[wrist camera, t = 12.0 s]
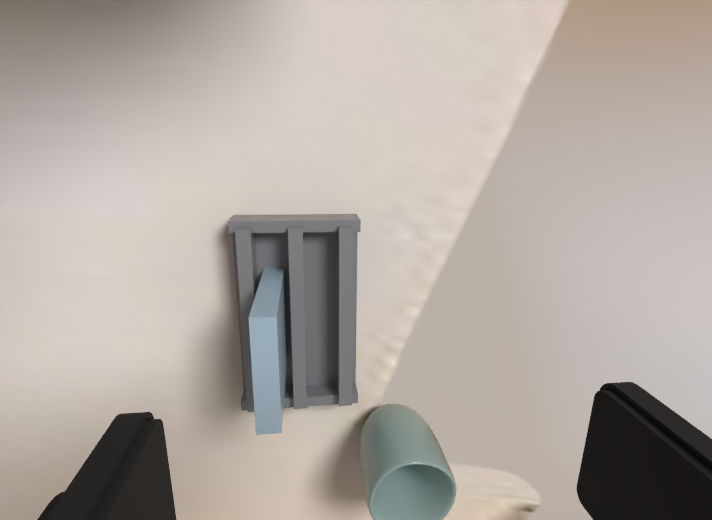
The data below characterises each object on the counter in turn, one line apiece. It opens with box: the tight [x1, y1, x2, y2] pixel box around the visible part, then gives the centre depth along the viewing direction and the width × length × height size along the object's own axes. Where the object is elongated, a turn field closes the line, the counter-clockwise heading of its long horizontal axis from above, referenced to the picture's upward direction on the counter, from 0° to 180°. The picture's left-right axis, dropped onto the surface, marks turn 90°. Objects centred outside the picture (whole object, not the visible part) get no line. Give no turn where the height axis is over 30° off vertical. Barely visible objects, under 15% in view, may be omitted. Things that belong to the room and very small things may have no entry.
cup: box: [359, 404, 456, 520], centre depth 40 cm, size 8×8×10 cm
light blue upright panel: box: [249, 268, 287, 435], centre depth 34 cm, size 9×2×11 cm, turn 0°
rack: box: [228, 214, 360, 412], centre depth 38 cm, size 18×11×4 cm, turn 0°
